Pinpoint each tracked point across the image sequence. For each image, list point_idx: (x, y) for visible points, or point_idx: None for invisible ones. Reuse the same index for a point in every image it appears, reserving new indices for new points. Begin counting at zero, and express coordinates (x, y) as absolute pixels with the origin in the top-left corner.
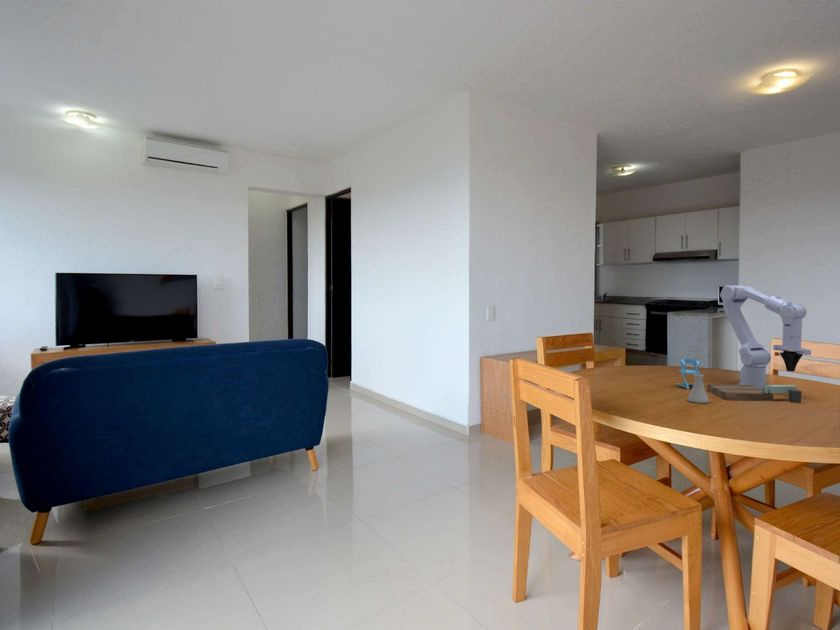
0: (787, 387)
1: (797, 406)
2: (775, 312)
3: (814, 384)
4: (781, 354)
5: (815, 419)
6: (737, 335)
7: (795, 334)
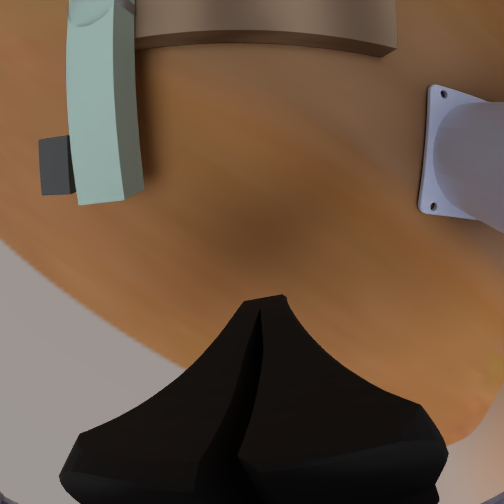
0: (74, 134)
1: (21, 127)
2: None
3: (447, 431)
4: (365, 421)
5: None
6: None
7: None
